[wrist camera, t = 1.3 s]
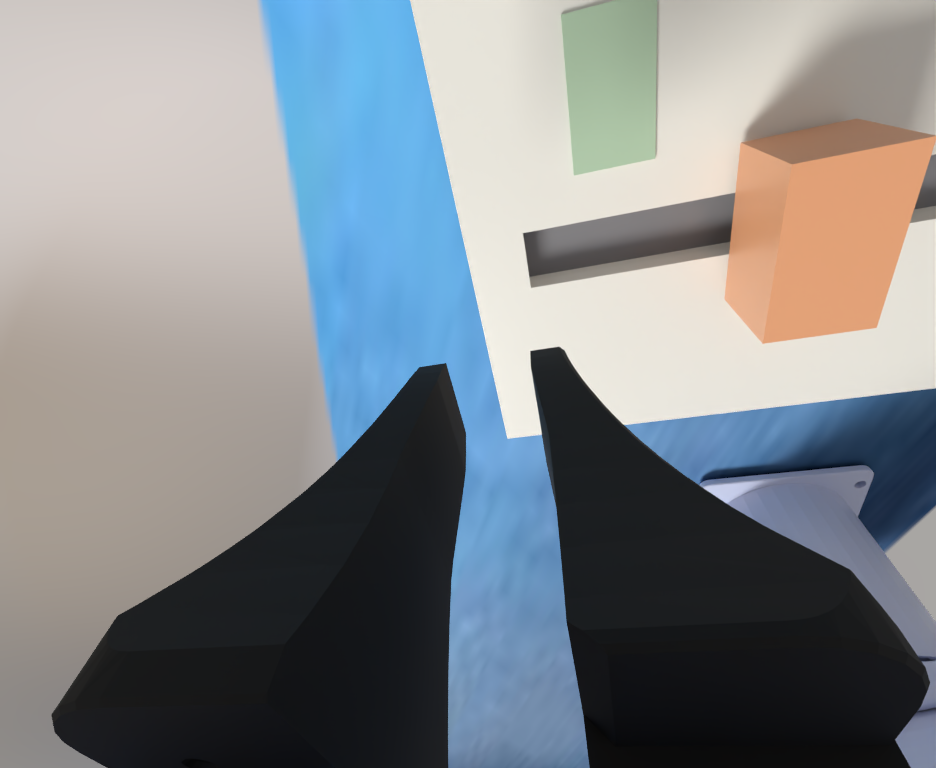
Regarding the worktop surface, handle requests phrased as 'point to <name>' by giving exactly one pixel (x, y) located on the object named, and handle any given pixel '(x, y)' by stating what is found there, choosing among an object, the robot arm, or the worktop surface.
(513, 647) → the worktop surface
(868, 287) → the switch
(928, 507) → the worktop surface
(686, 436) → the worktop surface
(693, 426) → the worktop surface
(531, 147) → the white flat board
